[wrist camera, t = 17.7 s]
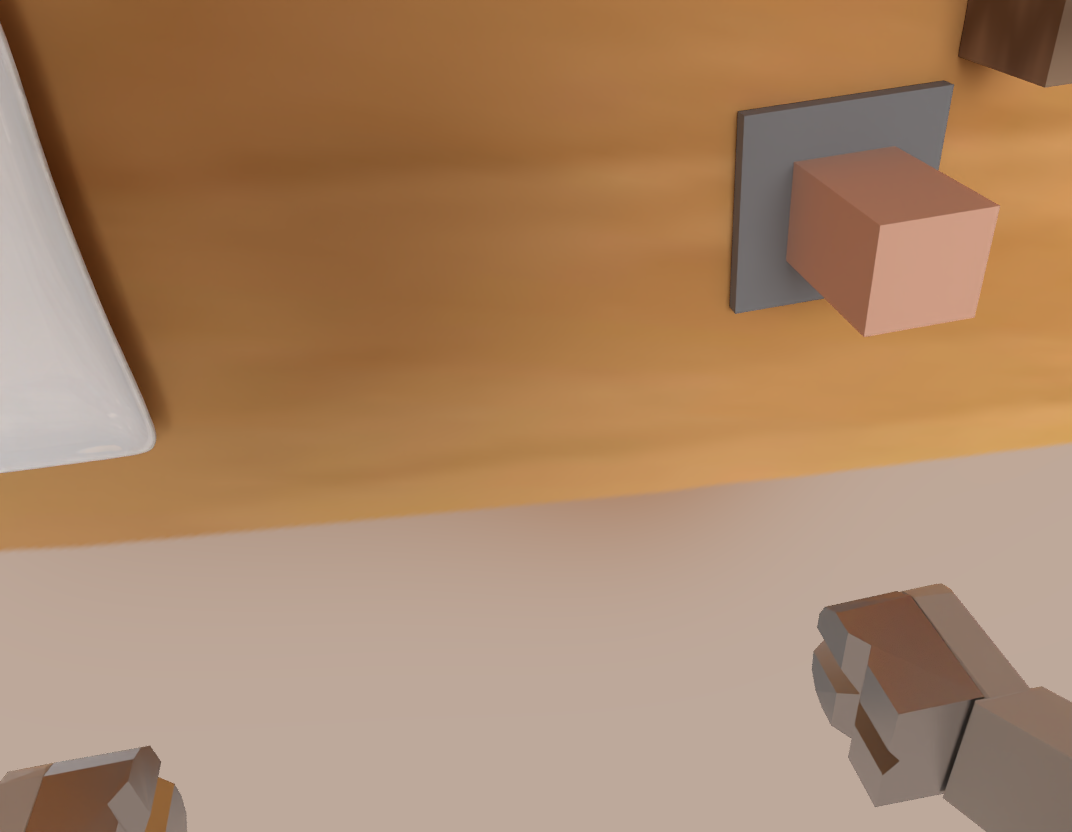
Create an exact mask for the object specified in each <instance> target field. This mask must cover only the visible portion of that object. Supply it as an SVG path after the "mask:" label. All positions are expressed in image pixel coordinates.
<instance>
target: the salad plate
mask: <svg viewBox="0 0 1072 832" xmlns="http://www.w3.org/2000/svg"><path fill="white" fill-rule="evenodd" d="M155 443H156V431H155V427H154V424H153V422H152V419H151V417H150V414H149V412H148V409H147V407H146V404H145V401H144V399H143V397H142V394H141V392H140V390H139V388H138V385H137V383H136V381H135V378H134V376H133V374H132V372H131V370H130V367H129V365H128V363H127V361H126V359H125V356H124V354H123V352H122V349H121V347H120V345H119V343H118V341H117V339H116V337H115V335H114V332H113V330H112V328H111V326H110V323H109V321H108V319H107V316H106V314H105V312H104V309H103V307H102V305H101V302H100V300H99V297H98V295H97V292H96V290H95V288H94V285H93V283H92V280H91V278H90V275H89V273H88V270H87V268H86V265H85V263H84V260H83V257H82V255H81V252H80V250H79V247H78V245H77V242H76V240H75V237H74V234H73V232H72V229H71V227H70V224H69V222H68V219H67V216H66V214H65V211H64V208H63V206H62V203H61V200H60V197H59V195H58V192H57V189H56V187H55V184H54V181H53V179H52V176H51V173H50V170H49V167H48V164H47V161H46V158H45V155H44V152H43V149H42V146H41V143H40V140H39V137H38V133H37V130H36V127H35V124H34V120H33V117H32V114H31V111H30V108H29V104H28V101H27V98H26V95H25V92H24V89H23V86H22V83H21V80H20V76H19V73H18V70H17V68H16V65H15V62H14V59H13V56H12V53H11V50H10V47H9V44H8V41H7V38H6V36H5V33H4V30H3V28H2V25H1V23H0V473H6V472H14V471H21V470H29V469H37V468H45V467H52V466H58V465H67V464H75V463H83V462H89V461H97V460H105V459H112V458H118V457H125V456H131V455H137V454H141V453H144V452H148V451H150V450H151V449H152V448H153V447H154V445H155Z"/></svg>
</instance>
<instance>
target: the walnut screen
mask: <svg viewBox="0 0 1072 832" xmlns="http://www.w3.org/2000/svg"><path fill="white" fill-rule="evenodd" d="M958 56H959V57H961V58H964V59H967V60H970V61H973V62H975V63H978V64H981V65H984V66H986V67H989V68H992V69H995V70H998V71H1000V72H1003V73H1006V74H1009V75H1011V76H1014V77H1017V78H1020V79H1023V80H1025V81H1028V82H1031V83H1034V84H1036V85H1039V86H1042V87H1052V86H1058V85H1065V84H1071V83H1072V0H968V6H967V11H966V17H965V22H964V28H963V33H962V39H961V44H960V50H959V55H958Z"/></svg>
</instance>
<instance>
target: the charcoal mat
mask: <svg viewBox="0 0 1072 832" xmlns="http://www.w3.org/2000/svg"><path fill="white" fill-rule="evenodd" d="M953 87H954V84H951V83H949V82H946V81H938V82H931V83H925V84H918V85H911V86H905V87H898V88H891V89H885V90H878V91H871V92H864V93H858V94H851V95H844V96H838V97H831V98H824V99H818V100H811V101H804V102H798V103H791V104H784V105H778V106H771V107H764V108H758V109H751V110H744V111H738V121H737V144H736V168H735V192H734V216H733V240H732V263H731V287H730V308H731V309H732V310H733V311H734V313H735V314H736V313H742V312H748V311H754V310H760V309H765V308H771V307H777V306H783V305H789V304H795V303H800V302H806V301H812V300H818V299H824V297H823V296H822V295H821V294H820V293H819V292H818V291H817V290H816V289H815V288H814V287H812V286H811V285H810V284H809V283H808V282H807V281H806V280H805V279H804V278H803V277H802V276H801V275H800V274H799V273H798V272H797V271H796V270H795V269H794V268H793V267H792V266H791V265H790V264H789V263H788V262H787V261H786V254H787V241H788V229H789V217H790V204H791V192H792V180H793V168H794V162H797V161H803V160H810V159H816V158H822V157H829V156H835V155H841V154H848V153H854V152H861V151H867V150H873V149H880V148H886V147H892V146H896V147H898V148H899V149H901V150H903V151H905V152H906V153H908V154H910V155H912V156H913V157H915V158H917V159H919V160H920V161H922V162H924V163H926V164H927V165H929V166H931V167H933V168H934V169H936V170H939V164H940V159H941V153H942V148H943V142H944V137H945V131H946V126H947V120H948V115H949V109H950V104H951V98H952V93H953Z"/></svg>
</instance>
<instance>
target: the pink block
mask: <svg viewBox="0 0 1072 832" xmlns="http://www.w3.org/2000/svg"><path fill="white" fill-rule="evenodd" d="M999 208H1000V205H998V204H996V203H994V202H992V201H991V200H989V199H987V198H985V197H984V196H982V195H980V194H978V193H977V192H975V191H973V190H971V189H970V188H968V187H966V186H964V185H963V184H961V183H959V182H957V181H956V180H954V179H952V178H950V177H949V176H947V175H945V174H943V173H942V172H940V171H938V170H936V169H934V168H933V167H931V166H929V165H927V164H926V163H924V162H922V161H920V160H919V159H917V158H915V157H913V156H912V155H910V154H908V153H906V152H905V151H903V150H901V149H899V148H898V147H896V146H892V147H886V148H880V149H873V150H867V151H861V152H854V153H848V154H841V155H835V156H829V157H822V158H816V159H810V160H803V161H797V162H794V168H793V180H792V192H791V204H790V217H789V229H788V241H787V254H786V261H787V262H788V263H789V264H790V265H791V266H792V267H793V268H794V269H795V270H796V271H797V272H798V273H799V274H800V275H801V276H802V277H803V278H804V279H805V280H806V281H807V282H808V283H809V284H810V285H811V286H812V287H814V288H815V289H816V290H817V291H818V292H819V293H820V294H821V295H822V296H823V297H824V298H825V299H826V300H827V301H828V302H829V303H830V304H831V305H832V306H833V307H834V308H835V309H836V310H837V311H838V312H839V313H840V314H841V315H842V316H843V317H844V318H845V319H846V320H847V321H848V322H849V323H850V324H851V325H852V326H853V327H854V328H855V329H856V330H857V331H858V332H859V333H860V334H861V335H863V336H864V337H866V336H872V335H878V334H883V333H889V332H895V331H900V330H906V329H912V328H917V327H923V326H929V325H934V324H940V323H945V322H951V321H957V320H962V319H968V318H974V317H975V313H976V308H977V304H978V300H979V295H980V291H981V287H982V282H983V278H984V274H985V269H986V265H987V260H988V256H989V252H990V247H991V243H992V239H993V234H994V230H995V226H996V221H997V217H998V213H999Z"/></svg>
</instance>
